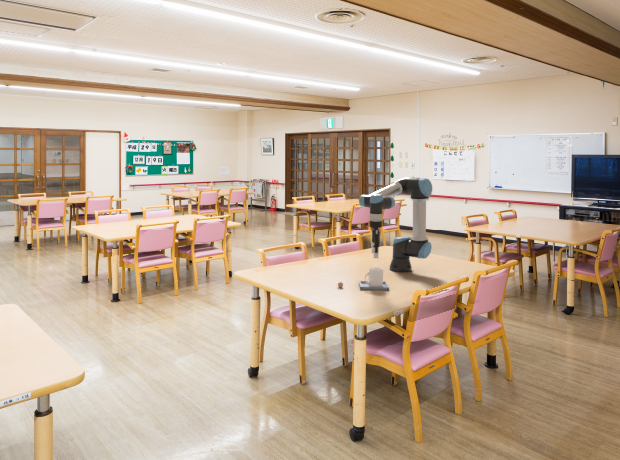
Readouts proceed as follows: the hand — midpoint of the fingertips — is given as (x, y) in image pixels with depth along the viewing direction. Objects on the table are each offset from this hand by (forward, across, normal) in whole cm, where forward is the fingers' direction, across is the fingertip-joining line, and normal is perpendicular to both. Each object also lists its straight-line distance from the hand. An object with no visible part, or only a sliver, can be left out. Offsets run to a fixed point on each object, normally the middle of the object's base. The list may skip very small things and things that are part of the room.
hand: (374, 255), depth 292 cm
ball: (+19, +4, -20) cm, 28 cm away
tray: (+19, 0, 0) cm, 19 cm away
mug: (+19, +1, -1) cm, 19 cm away
